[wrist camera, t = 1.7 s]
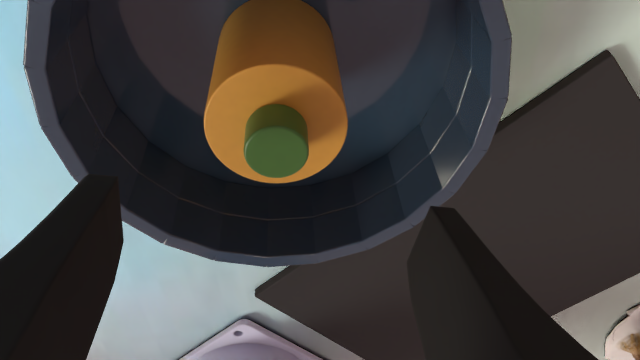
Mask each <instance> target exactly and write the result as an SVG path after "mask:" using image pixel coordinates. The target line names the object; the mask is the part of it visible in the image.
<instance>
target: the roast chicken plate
mask: <svg viewBox="0 0 640 360" xmlns="http://www.w3.org/2000/svg"><path fill="white" fill-rule="evenodd" d="M627 314H628V315H629V316H627V317H626V318H625V319H624V320H623V321H621V322H620V323H619V324H618V325H617V326H616V327H615V328H614V329H613V331H612V332H611V333H610V334H609V335H608V336H607V339H606V343H605V358H607V359H609V360H640V305H638V306H637V307H634V308H632V309H630V310H628V311H627Z"/></svg>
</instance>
